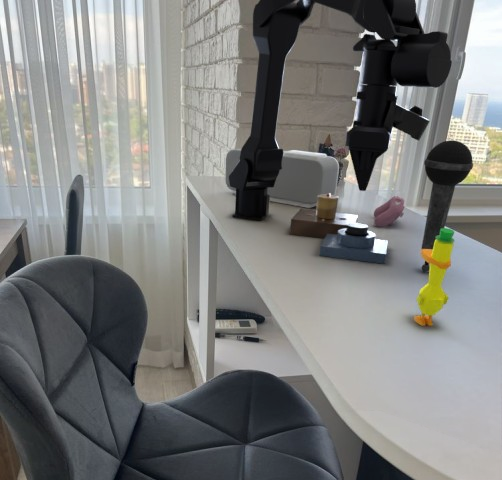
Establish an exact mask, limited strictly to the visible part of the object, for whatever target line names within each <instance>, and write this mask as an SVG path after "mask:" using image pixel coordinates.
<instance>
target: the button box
mask: <svg viewBox="0 0 502 480" xmlns="http://www.w3.org/2000/svg"><path fill="white" fill-rule="evenodd" d="M346 230H347V228H344V229H340V230H338V232H337V234H328V233H327V235H326V237H325V238H323V240H322V242H321V244H320V247H319V256H321V257H328V258H335V259H336V258H337V259H343V260H351V261H360V262H367V263H375V264H386V258H387V251H388V243H389V242H388V240H387V239H377V238H376V235H377V234H376V233H374V232H372V231H371V230H368V231H367V236H352V235H348V234H346Z"/></svg>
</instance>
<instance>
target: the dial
mask: <svg viewBox="0 0 502 480" xmlns="http://www.w3.org/2000/svg"><path fill="white" fill-rule="evenodd" d="M338 204H339V196H337V195H336V194H335V195H331V193H328V194H320V195H318V198H317V206H315V207H316V208H315V210H316V217H318V218H323V219H334V218H336V213H338V212H337V211H338Z"/></svg>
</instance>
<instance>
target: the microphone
mask: <svg viewBox="0 0 502 480" xmlns="http://www.w3.org/2000/svg"><path fill="white" fill-rule="evenodd" d="M424 159H425V160H424V162H423V164H424V170H425V174H426V176H427V178H428V179H429V181H430V182H431V183H432V186H431V190H430V196H429V201H428V202H429V203H428V207H427V214H426V219H425V226H424V232H423V237H422V241H421V242H422V243H421V247H420V249H433V247H434V242H435V240H436V238H435V237H436V236H437V235H440V229H442V228H446V224H447V220H448V216H449V212H450V208H451V203H452V200H453V196H454V192H455V189H456V186H457V185H459V184H460V183H462V182H463V181H464V180H466V179H467V177H468V176H469V174H470V173H471V170H473V167H474V163H473V155H472V152H471V150H470V148H469V147H468V146H467V145H466V144H464V143H463V142H461V141H458V140H454V139H453V140H452V139H451V140H450V139H449V140H444V141H442V142H439V143H438V144H436V145H435V146H433V147H432V148H431V150H430V151H429V152H428V154H427V156H426V158H424ZM421 271H422V272H423V273H428V272H429V271H430V264H429V263H428V262H426V261H425V260H424V264H422V266H421Z"/></svg>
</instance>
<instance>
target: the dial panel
mask: <svg viewBox="0 0 502 480" xmlns="http://www.w3.org/2000/svg"><path fill="white" fill-rule="evenodd" d="M358 218H359V215H358V214H351V213H343V212H336V218H334V219H323V218H318V217H316V209H306V208H300V209H299V210H298V211H297V212H296V213H295V214H294V215H293V216H292V218H291V219H290V227H289V228H290V229H289V235H293V236H301V237H310V238H318V239H325V237H326V235H327V233H328V234H337V232H338V230H340V229H344V228H347V224H349V223H358V220H359V219H358Z"/></svg>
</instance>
